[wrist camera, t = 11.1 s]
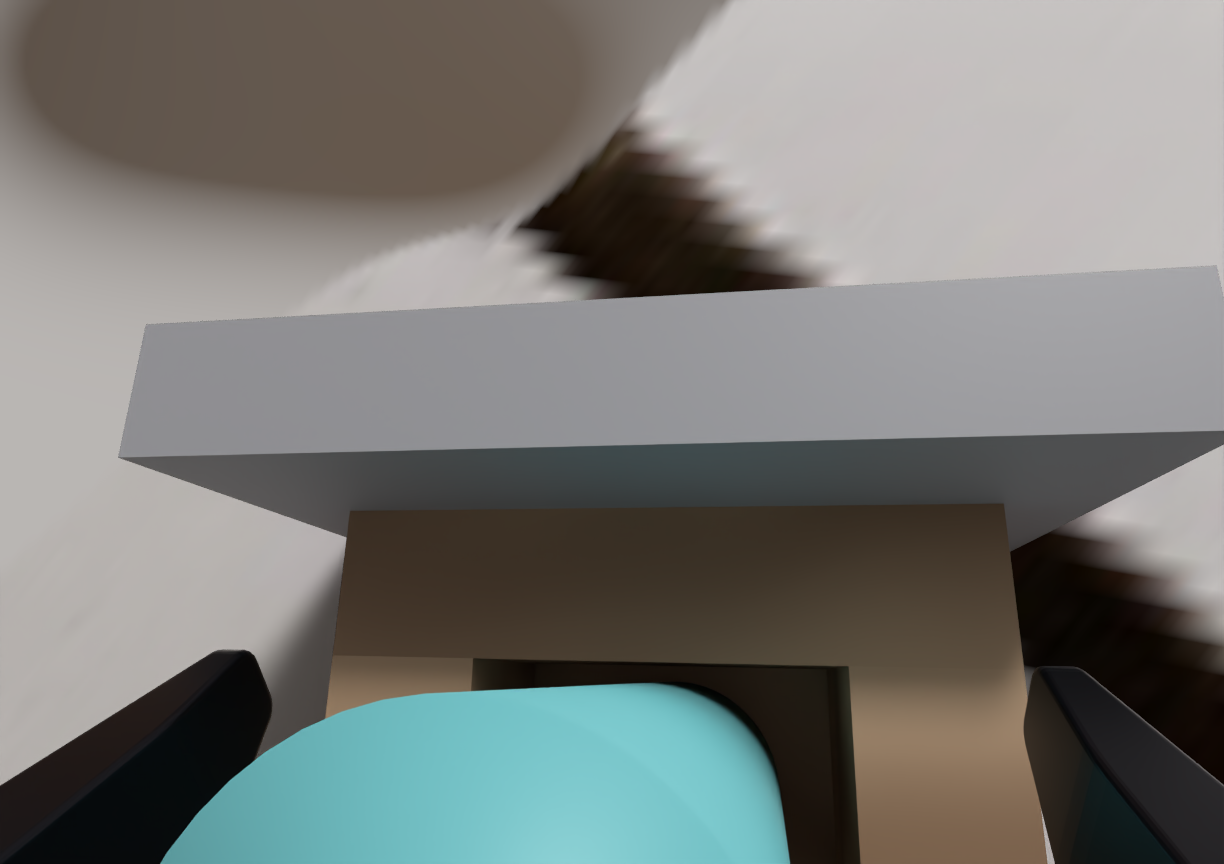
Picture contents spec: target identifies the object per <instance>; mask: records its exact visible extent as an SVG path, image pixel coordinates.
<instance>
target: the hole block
mask: <svg viewBox="0 0 1224 864" xmlns="http://www.w3.org/2000/svg"><path fill="white" fill-rule="evenodd" d="M652 682H686V683H693V684H697V685H700V686H704V687H707V688H709V689H712V690H714V691H716V692H718V693H720V694H722V695H724V696H725V697H727V698H729V699H730V700H731V701H733V702H734V703H735V704H737V705H738V706H739V707H740V708H741V709H742V710H743V711H744V712H745V713H746V714H747V715H748V716H749V717H750V718H751V719H752V720H753V722H754V723H755V724H756V725H757V727H758V728H759V730H760V731H761V733H762V735H763V736H764V738H765V740H766V741H767V744H768V746H769V748H770V750H771V753H772V755H773V759H774V762H775V765H776V768H777V774H778V779H779V786H780V793H781V800H782V808H783V815H784V823H785V830H786V837H787V845H788V852H789V859H790V864H1047V856H1046V848H1045V840H1044V831H1043V823H1042V815H1041V806H1040V802H1039V798H1038V794H1037V790H1036V786H1035V782H1034V778H1033V774H1032V770H1031V766H1030V762H1029V758H1028V754H1027V750H1026V745H1025V740H1024V731H1023V724H1024V717H1025V711H1026V706H1027V701H1028V699H1027V691H1026V682H1025V674H1024V666H1023V657H1022V649H1021V641H1020V633H1019V624H1018V616H1017V608H1016V599H1015V591H1014V583H1013V575H1012V566H1011V558H1010V550H1009V542H1008V533H1007V525H1006V517H1005V508H1004V504H917V505H828V506H739V507H650V508H561V509H472V510H383V511H350V515H349V523H348V531H347V540H346V548H345V556H344V565H343V573H342V581H341V590H340V598H339V606H338V615H337V623H336V632H335V640H334V648H333V657H332V665H331V673H330V682H329V690H328V698H327V707H326V715H325V719H326V718H328V717H331V716H333V715H335V714H337V713H340V712H342V711H345V710H349V709H352V708H356V707H359V706H362V705H366V704H369V703H373V702H376V701H380V700H383V699H390V698H397V697H404V696H411V695H418V694H426V693H447V692H467V691H488V690H508V689H529V688H549V687H570V686H590V685H611V684H631V683H652Z"/></svg>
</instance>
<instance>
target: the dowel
mask: <svg viewBox="0 0 1224 864" xmlns="http://www.w3.org/2000/svg"><path fill="white" fill-rule="evenodd" d="M160 864H790V859H789V852H788V845H787V837H786V830H785V823H784V815H783V808H782V800H781V793H780V786H779V779H778V774H777V768H776V765H775V762H774V759H773V755H772V753H771V750H770V748H769V746H768V744H767V741H766V740H765V738H764V736H763V735H762V733H761V731H760V730H759V728H758V727H757V725H756V724H755V723H754V722H753V720H752V719H751V718H750V717H749V716H748V715H747V714H746V713H745V712H744V711H743V710H742V709H741V708H740V707H739V706H738V705H737V704H735V703H734V702H733V701H731V700H730V699H729V698H727V697H725V696H724V695H722V694H720V693H718V692H716V691H714V690H712V689H709V688H707V687H704V686H700V685H697V684H693V683H686V682H652V683H631V684H611V685H590V686H570V687H549V688H529V689H508V690H488V691H467V692H447V693H426V694H418V695H411V696H404V697H397V698H390V699H383V700H380V701H376V702H373V703H369V704H366V705H362V706H359V707H356V708H352V709H349V710H345V711H342V712H340V713H337V714H335V715H333V716H331V717H328V718H326V719H324V720H322V721H320V722H317V723H315V724H313V725H311V726H308V727H306V728H304V729H302V730H300V731H299V732H297V733H295V734H294V735H292V736H291V737H289V738H287V739H286V740H284V741H282V742H281V743H279V744H278V745H276V746H274V747H273V748H271V749H269V750H268V751H266V752H265V753H263V754H262V755H261V756H260V757H258V758H257V759H256V760H255V761H253V762H252V763H251V764H250V765H248V766H247V767H246V768H245V769H244V770H242V771H241V772H240V773H239V774H237V775H236V776H235V777H234V778H232V779H231V780H230V781H229V782H228V783H227V784H226V785H225V786H224V787H223V788H222V789H221V790H220V791H219V792H218V793H217V794H216V795H215V796H214V797H213V798H212V799H211V800H210V801H209V802H208V803H207V804H206V805H205V806H204V807H203V808H202V809H201V810H200V811H199V812H198V814H197V815H196V816H195V817H194V819H193V820H192V821H191V822H190V824H189V825H188V826H187V828H186V829H185V830H184V831H183V833H182V834H181V835H180V837H179V838H178V839H177V840H176V842H175V843H174V844H173V846H172V847H171V848H170V849H169V851H168V852H167V854H166V855H165V857H164V858H163V860H162V862H161V863H160Z"/></svg>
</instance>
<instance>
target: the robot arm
mask: <svg viewBox="0 0 1224 864" xmlns="http://www.w3.org/2000/svg"><path fill="white" fill-rule="evenodd" d="M271 714H272V698H271V694H270V692H269V690H268V687H267V685H266V682H265V680H264V677H263V675H262V672H261V670H260V667H259V665H258V662H257V660H256V658H255V656H254V655H253V654H252V653H251V652H250V651H246V650H217V651H214V652H212V653H211V654H209V655H207V656H206V657H204V658H203V659H201V660H199V661H198V662H196V663H195V664H193V665H192V666H190V667H188V668H187V669H185V670H184V671H182V672H180V673H179V674H177V675H176V676H174V677H172V678H171V679H169V680H168V681H166V682H164V683H163V684H161V685H160V686H158V687H156V688H155V689H153V690H152V691H150V692H149V693H147V694H145V695H144V696H142V697H141V698H139V699H137V700H136V701H134V702H133V703H131V704H129V705H128V706H126V707H125V708H123V709H121V710H120V711H118V712H117V713H115V714H113V715H112V716H110V717H109V718H107V719H106V720H104V721H102V722H101V723H99V724H98V725H96V726H94V727H93V728H91V729H90V730H88V731H86V732H85V733H83V734H82V735H80V736H78V737H77V738H75V739H74V740H72V741H71V742H69V743H67V744H66V745H64V746H63V747H61V748H59V749H58V750H56V751H55V752H53V753H51V754H50V755H48V756H47V757H45V758H43V759H42V760H40V761H39V762H37V763H35V764H34V765H32V766H31V767H29V768H28V769H26V770H24V771H23V772H21V773H20V774H18V775H16V776H15V777H13V778H12V779H10V780H8V781H7V782H5V783H4V784H2V785H0V864H160V863H161V862H162V860H163V858H164V857H165V855H166V854H167V852H168V851H169V849H170V848H171V847H172V846H173V844H174V843H175V842H176V840H177V839H178V838H179V837H180V835H181V834H182V833H183V831H184V830H185V829H186V828H187V826H188V825H189V824H190V822H191V821H192V820H193V819H194V817H195V816H196V815H197V814H198V812H199V811H200V810H201V809H202V808H203V807H204V806H205V805H206V804H207V803H208V802H209V801H210V800H211V799H212V798H213V797H214V796H215V795H216V794H217V793H218V792H219V791H220V790H221V789H222V788H223V787H224V786H225V785H226V784H227V783H228V782H229V781H230V780H231V779H232V778H234V777H235V776H236V775H237V774H239V773H240V772H241V771H242V770H244V769H245V768H246V767H247V766H248V765H250V764H251V763H252V762H253V761H254V760H255V758H256V755H257V753H258V750H259V747H260V745H261V742H262V739H263V737H264V734H265V732H266V729H267V726H268V724H269V721H270V718H271ZM1023 731H1024V740H1025V745H1026V750H1027V754H1028V758H1029V762H1030V766H1031V770H1032V774H1033V778H1034V782H1035V786H1036V790H1037V794H1038V798H1039V802H1040V806H1041V809H1042V813H1043V817H1044V821H1045V825H1046V829H1047V833H1048V837H1049V841H1050V845H1051V849H1052V853H1053V857H1054V861H1055V864H1224V785H1223V784H1222V783H1220V782H1219V781H1218V780H1217V779H1216V778H1214V777H1213V776H1212V775H1211V774H1209V773H1208V772H1207V771H1206V770H1205V769H1203V768H1202V767H1201V766H1200V765H1198V764H1197V763H1196V762H1195V761H1194V760H1192V759H1191V758H1190V757H1189V756H1187V755H1186V754H1185V753H1184V752H1183V751H1181V750H1180V749H1179V748H1178V747H1176V746H1175V745H1174V744H1173V743H1172V742H1170V741H1169V740H1168V739H1167V738H1166V737H1164V736H1163V735H1162V734H1161V733H1159V732H1158V731H1157V730H1156V729H1155V728H1153V727H1152V726H1151V725H1150V724H1148V723H1147V722H1146V721H1145V720H1144V719H1142V718H1141V717H1140V716H1139V715H1137V714H1136V713H1135V712H1134V711H1133V710H1131V709H1130V708H1129V707H1128V706H1126V705H1125V704H1124V703H1123V702H1122V701H1120V700H1119V699H1118V698H1117V697H1115V696H1114V695H1113V694H1112V693H1111V692H1109V691H1108V690H1107V689H1106V688H1104V687H1103V686H1102V685H1101V684H1100V683H1098V682H1097V681H1096V680H1095V679H1093V678H1092V677H1091V676H1090V675H1089V674H1087V673H1086V672H1085V671H1083V670H1081V669H1079V668H1077V667H1067V666H1041V667H1038V668H1037V669H1036V670H1035V671H1034V673H1033V675H1032V679H1031V685H1030V690H1029V695H1028V701H1027V706H1026V711H1025V717H1024V724H1023Z"/></svg>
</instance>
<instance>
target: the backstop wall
mask: <svg viewBox="0 0 1224 864" xmlns="http://www.w3.org/2000/svg"><path fill="white" fill-rule="evenodd" d="M1223 444H1224V297H1223V292H1222V287H1221V283H1220V278H1219V274H1218V269H1217V266H1198V267H1180V268H1162V269H1144V270H1126V271H1108V272H1090V273H1071V274H1053V275H1035V276H1017V277H999V278H981V279H963V280H944V281H926V282H908V283H890V284H872V285H854V286H835V287H817V288H799V289H781V290H763V291H745V292H727V293H708V294H690V295H672V296H654V297H636V298H618V299H600V300H581V301H563V302H545V303H527V304H509V305H491V306H473V307H454V308H436V309H418V310H400V311H382V312H364V313H345V314H327V315H309V316H291V317H273V318H255V319H237V320H219V321H200V322H184V323H164V324H146V327H145V332H144V337H143V341H142V346H141V351H140V355H139V360H138V365H137V370H136V375H135V380H134V384H133V389H132V394H131V399H130V404H129V408H128V413H127V418H126V423H125V427H124V432H123V437H122V442H121V446H120V452H119V456H118V458H121V459H124V460H127V461H130V462H133V463H135V464H138V465H141V466H144V467H147V468H150V469H153V470H155V471H158V472H161V473H164V474H167V475H170V476H173V477H175V478H178V479H181V480H184V481H187V482H190V483H193V484H195V485H198V486H201V487H204V488H207V489H210V490H213V491H215V492H218V493H221V494H224V495H227V496H230V497H233V498H236V499H238V500H241V501H244V502H247V503H250V504H253V505H256V506H258V507H261V508H264V509H267V510H270V511H273V512H276V513H278V514H281V515H284V516H287V517H290V518H293V519H296V520H298V521H301V522H304V523H307V524H310V525H313V526H316V527H319V528H321V529H324V530H327V531H330V532H333V533H336V534H339V535H341V536H344V537H347V531H348V523H349V515H350V511H383V510H472V509H561V508H650V507H739V506H828V505H917V504H1004V508H1005V517H1006V525H1007V533H1008V542H1009V550H1010V551H1012V550H1014V549H1016V548H1018V547H1020V546H1022V545H1024V544H1026V543H1028V542H1030V541H1032V540H1034V539H1036V538H1038V537H1040V536H1042V535H1044V534H1046V533H1048V532H1050V531H1052V530H1054V529H1056V528H1058V527H1060V526H1062V525H1064V524H1066V523H1068V522H1070V521H1072V520H1074V519H1076V518H1078V517H1080V516H1082V515H1084V514H1086V513H1088V512H1090V511H1092V510H1094V509H1096V508H1098V507H1100V506H1102V505H1104V504H1106V503H1108V502H1110V501H1112V500H1114V499H1116V498H1118V497H1120V496H1122V495H1124V494H1126V493H1128V492H1130V491H1132V490H1134V489H1136V488H1138V487H1140V486H1142V485H1144V484H1146V483H1148V482H1150V481H1152V480H1154V479H1156V478H1158V477H1160V476H1162V475H1164V474H1166V473H1168V472H1170V471H1172V470H1174V469H1176V468H1178V467H1180V466H1182V465H1184V464H1186V463H1188V462H1190V461H1192V460H1194V459H1196V458H1198V457H1200V456H1202V455H1204V454H1206V453H1208V452H1209V451H1211V450H1213V449H1215V448H1217V447H1219V446H1221V445H1223Z"/></svg>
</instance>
